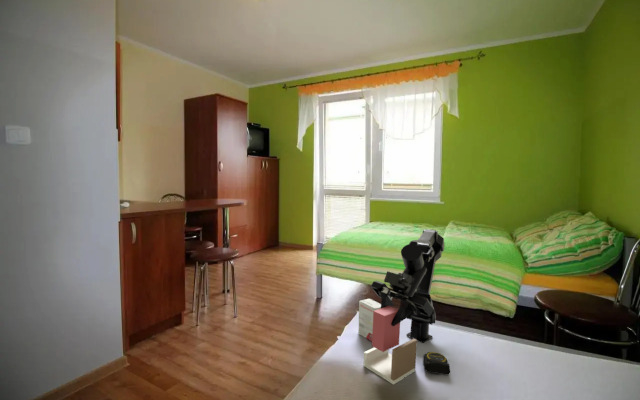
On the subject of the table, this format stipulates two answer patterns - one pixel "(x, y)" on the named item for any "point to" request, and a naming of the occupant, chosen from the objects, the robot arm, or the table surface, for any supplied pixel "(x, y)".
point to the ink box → (367, 317)
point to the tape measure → (436, 363)
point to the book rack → (392, 361)
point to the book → (385, 329)
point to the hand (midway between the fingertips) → (385, 322)
